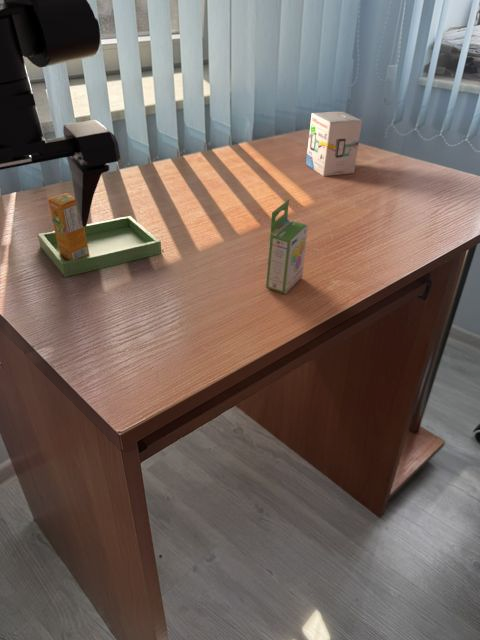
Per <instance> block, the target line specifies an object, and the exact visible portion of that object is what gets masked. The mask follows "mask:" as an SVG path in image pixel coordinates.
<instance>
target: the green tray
mask: <svg viewBox="0 0 480 640" xmlns="http://www.w3.org/2000/svg"><path fill="white" fill-rule="evenodd" d="M84 229H85V234H86V239H87V244H88V250H89V255H90V256H87V257H83V258H78V259H74V260H70V261H65V260H64V259H63V258H62V256H61V255H60V252H59V247H58V243H57V239H56V234H55V230H52V231H46V232H41V233H37V238H38V243H39V246H40V248H41V250H42V251H43V252H44V253H45V254H46V256H47V257H48V258H49V259H50V261H51V262H52V263H53V264H54V266H55V267H56V268H57V269H58V270H59V272H60V273H61V274H62V276H63V277H64V278H68V277H71V276H72V277H73V276H76V275H81V274H84V273H88V272H92V271H96V270H101V269H104V268H108V267H112V266H117V265H120V264H125V263H129V262H132V261H136V260H141V259H145V258H149V257H153V256H157V255H161V254H162V242H161V240H160V239H158V238H157V237H156V235H153V233H151V232H150V231H149V230H148V229H147V228H145V227H144V226H143V225H141V224H140V223H139V222H138V221H137V220H136V219H134V218H133V217H132V216H131V215H127V216H123V217H117V218H112V219H107V220H102V221H98V222H97V221H96V222H93V223H87V226H84Z"/></svg>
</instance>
